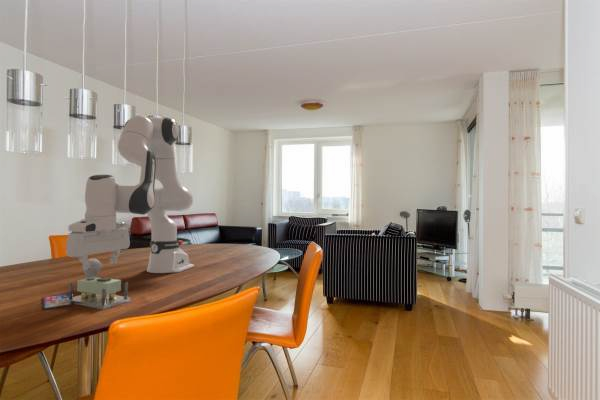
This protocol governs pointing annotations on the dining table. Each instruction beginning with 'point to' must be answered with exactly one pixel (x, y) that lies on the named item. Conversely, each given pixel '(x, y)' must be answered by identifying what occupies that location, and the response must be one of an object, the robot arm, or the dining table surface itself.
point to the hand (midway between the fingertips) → (100, 266)
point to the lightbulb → (93, 268)
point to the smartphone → (56, 302)
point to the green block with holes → (98, 285)
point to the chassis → (98, 298)
